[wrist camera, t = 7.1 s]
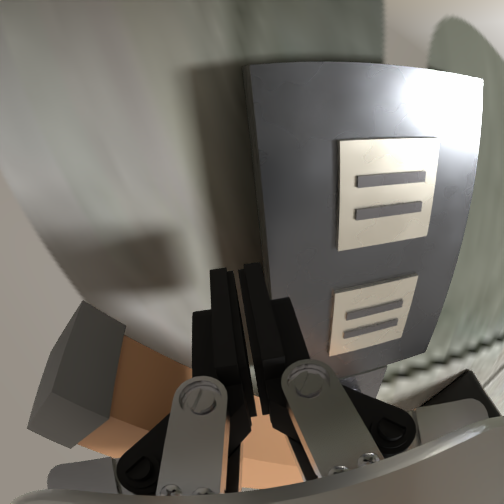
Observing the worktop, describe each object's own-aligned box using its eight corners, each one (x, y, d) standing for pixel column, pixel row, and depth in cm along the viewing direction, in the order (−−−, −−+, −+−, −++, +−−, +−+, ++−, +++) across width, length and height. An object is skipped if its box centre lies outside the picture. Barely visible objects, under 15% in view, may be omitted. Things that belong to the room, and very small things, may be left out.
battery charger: (426, 413, 27) (465, 497, 18) (414, 409, 26) (456, 502, 16) (477, 373, 25) (525, 456, 15) (470, 365, 23) (524, 457, 14)
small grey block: (383, 360, 19) (407, 406, 16) (368, 403, 23) (385, 443, 19) (298, 381, 19) (313, 435, 16) (297, 422, 22) (308, 465, 19)
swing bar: (86, 294, 9) (54, 387, 6) (392, 431, 18) (408, 471, 15) (48, 355, 10) (25, 430, 7) (345, 456, 19) (358, 495, 16)
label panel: (451, 73, 10) (487, 80, 8) (410, 329, 18) (427, 355, 16) (242, 66, 9) (250, 64, 8) (272, 363, 18) (280, 395, 16)
